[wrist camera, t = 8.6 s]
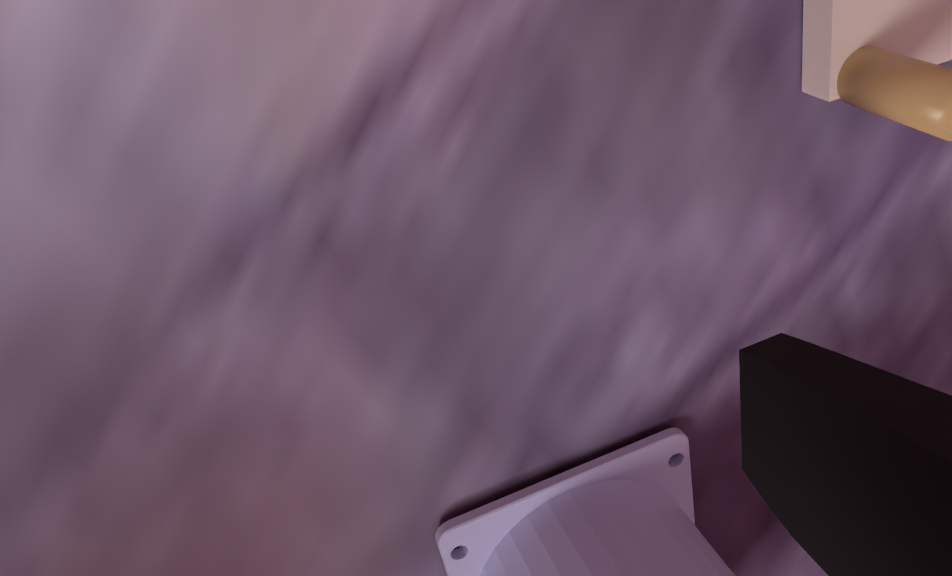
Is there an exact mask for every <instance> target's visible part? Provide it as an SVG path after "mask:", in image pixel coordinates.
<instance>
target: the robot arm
mask: <svg viewBox="0 0 952 576" xmlns="http://www.w3.org/2000/svg"><path fill="white" fill-rule="evenodd" d="M739 361H740V399H741V437H742V469H743V471H744V472H745V473H746V475H747V476H748V478H749V479H750V480H751V482H752V483H753V485H754V486H755V487H756V489H757V490H758V492H759V493H760V494H761V496H762V497H763V499H764V500H765V501H766V503H767V504H768V506H769V507H770V508H771V509H772V511H773V512H774V513H775V515H776V516H777V517H778V519H779V520H780V521H781V523H782V524H783V525H784V527H785V528H786V529H787V530H788V532H789V533H790V534H791V536H792V537H793V538H794V539H795V540H796V541H797V542H798V543H799V544H800V545H801V547H802V548H803V549H804V550H805V551H806V552H807V553H808V554H809V555H810V556H811V557H812V558H813V559H814V561H815V562H816V563H817V564H818V565H819V566H820V567H821V568H822V569H823V570H824V571H825V572H826V573H827V574H828V575H829V576H952V396H951V395H948V394H946V393H943V392H940V391H937V390H935V389H932V388H929V387H926V386H924V385H921V384H918V383H916V382H913V381H910V380H908V379H905V378H902V377H900V376H897V375H894V374H892V373H889V372H886V371H884V370H881V369H878V368H876V367H873V366H871V365H868V364H865V363H863V362H860V361H857V360H855V359H852V358H849V357H847V356H844V355H841V354H839V353H836V352H834V351H831V350H828V349H826V348H823V347H820V346H817V345H815V344H812V343H809V342H806V341H803V340H801V339H798V338H795V337H792V336H789V335H786V334H783V333H780V334H778V335H775V336H773V337H770V338H768V339H765V340H763V341H760V342H758V343H756V344H753V345H751V346H748V347H746V348H743V349H741V350H739ZM673 455H674V456H673ZM671 456H673V457H671ZM435 539H436V542H437V545H438V549H439V552H440V555H441V558H442V561H443V564H444V567H445V570H446V573H447V576H735V575H734V574H733V572H732V571H731V570H730V569H729V567H728V566H727V565H726V564H725V562H724V561H723V560H722V559H721V557H720V556H719V555H718V554H717V552H716V551H715V550H714V549H713V547H712V546H711V545H710V544H709V543H708V541H707V540H706V539H705V538H704V536H703V535H702V534H701V533H700V531H699V530H698V529H697V528H696V526H695V518H694V505H693V491H692V478H691V464H690V451H689V440H688V437H687V436H686V435H685V434H684V433H683V431H682V430H680V429H679V428H674V427H673V428H669V429H666V430H663V431H661V432H658V433H656V434H654V435H651V436H649V437H646V438H644V439H642V440H639V441H637V442H634V443H632V444H630V445H627V446H625V447H623V448H620V449H618V450H615V451H613V452H611V453H608V454H606V455H603V456H601V457H599V458H596V459H594V460H591V461H589V462H587V463H584V464H582V465H579V466H577V467H575V468H572V469H570V470H567V471H565V472H563V473H560V474H558V475H555V476H553V477H551V478H548V479H546V480H543V481H541V482H539V483H536V484H534V485H531V486H529V487H527V488H524V489H522V490H519V491H517V492H515V493H512V494H510V495H507V496H505V497H503V498H500V499H498V500H495V501H493V502H491V503H488V504H486V505H484V506H481V507H479V508H476V509H474V510H472V511H469V512H467V513H464V514H462V515H460V516H457V517H455V518H452V519H450V520H448V521H446V522H444V523H443V524H442V525H441V526H440V527H439V528H438V529H437V531H436V534H435ZM457 546H461V547H459V548H458V549H454V548H456V547H457ZM453 549H454V550H453Z"/></svg>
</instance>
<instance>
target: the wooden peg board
mask: <svg viewBox="0 0 952 576" xmlns="http://www.w3.org/2000/svg"><path fill="white" fill-rule="evenodd" d="M949 60H952V0H804V1H803V54H802V92H804V93H807V94H809V95H812V96H815V97H817V98H820V99H823V100H825V101H828V102H831V101H833V100H836V99H839V98H841V99H842V100H843V101H844V102H845V103H848V104H850V105H853V106H856V107H858V108H861V109H864V110H866V111H869V112H872V113H874V114H877V115H880V116H882V117H885V118H888V119H890V120H893V121H896V122H899V123H901V124H904V125H907V126H909V127H912V128H915V129H917V130H920V131H923V132H925V133H928V134H931V135H933V136H936V137H939V138H941V139H944V140H947V141H952V69H951V68H947V67H944V66H940V65H938V64H940V63H943V62H946V61H949Z"/></svg>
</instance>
